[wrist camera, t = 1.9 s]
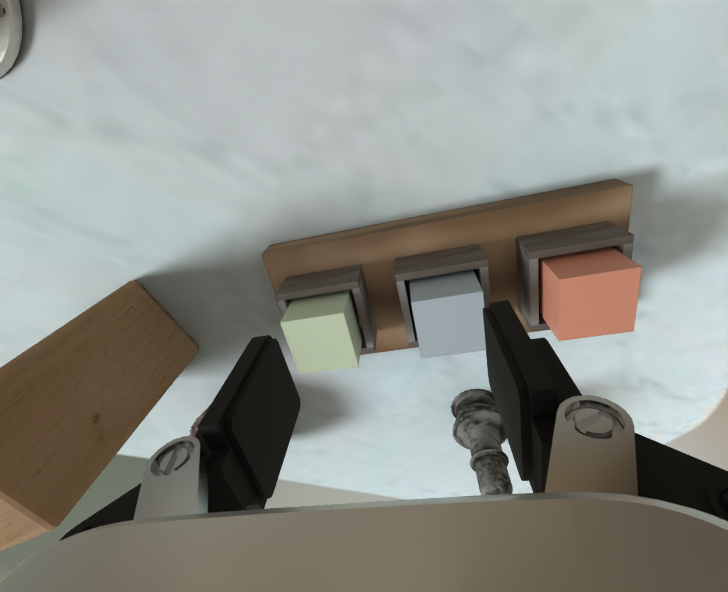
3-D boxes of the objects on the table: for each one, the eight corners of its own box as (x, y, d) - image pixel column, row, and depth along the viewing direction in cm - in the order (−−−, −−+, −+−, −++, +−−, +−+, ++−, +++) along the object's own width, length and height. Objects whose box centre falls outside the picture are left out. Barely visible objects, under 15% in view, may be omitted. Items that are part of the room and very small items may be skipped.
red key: (539, 257, 28) (559, 279, 25) (610, 245, 28) (641, 266, 24) (539, 313, 31) (558, 340, 27) (605, 303, 30) (633, 331, 26)
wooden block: (202, 348, 41) (57, 531, 24) (142, 380, 44) (-27, 565, 27) (135, 277, 38) (-94, 430, 20) (75, 318, 41) (-171, 482, 23)
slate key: (409, 278, 30) (411, 302, 26) (472, 268, 29) (482, 291, 26) (418, 330, 32) (421, 358, 29) (477, 322, 31) (487, 349, 28)
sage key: (292, 298, 32) (279, 322, 28) (349, 288, 31) (343, 312, 27) (309, 345, 34) (299, 374, 30) (362, 338, 33) (358, 366, 29)
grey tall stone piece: (437, 406, 43) (451, 506, 32) (478, 378, 40) (507, 476, 30) (471, 433, 44) (495, 537, 34) (512, 407, 42) (552, 511, 31)
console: (270, 245, 35) (247, 270, 30) (615, 178, 30) (662, 195, 25) (306, 348, 40) (292, 385, 35) (605, 306, 35) (642, 342, 30)
